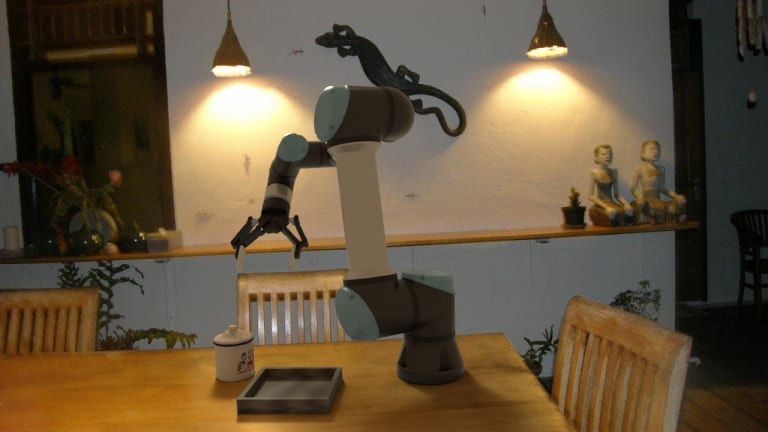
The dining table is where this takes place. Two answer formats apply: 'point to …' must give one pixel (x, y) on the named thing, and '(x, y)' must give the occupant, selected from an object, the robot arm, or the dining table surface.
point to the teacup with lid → (234, 355)
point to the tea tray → (291, 391)
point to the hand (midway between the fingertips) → (265, 269)
